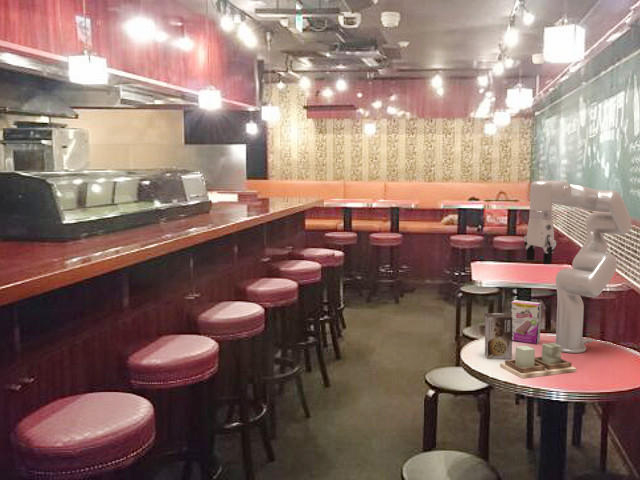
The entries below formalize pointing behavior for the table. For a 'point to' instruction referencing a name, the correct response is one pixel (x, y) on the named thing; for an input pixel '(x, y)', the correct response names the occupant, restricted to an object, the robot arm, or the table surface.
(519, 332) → the candy bar box
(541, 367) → the socket base
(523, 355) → the sage block
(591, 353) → the table surface
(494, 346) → the cookie box
